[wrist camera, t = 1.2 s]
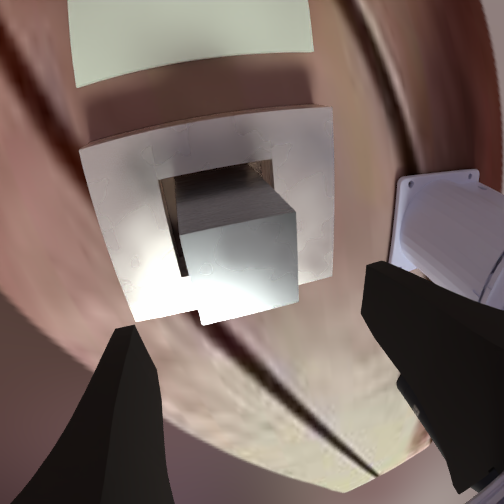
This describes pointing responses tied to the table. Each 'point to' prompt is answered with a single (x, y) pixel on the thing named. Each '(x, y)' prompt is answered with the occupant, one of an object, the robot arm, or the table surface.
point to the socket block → (198, 159)
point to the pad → (179, 32)
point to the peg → (236, 243)
